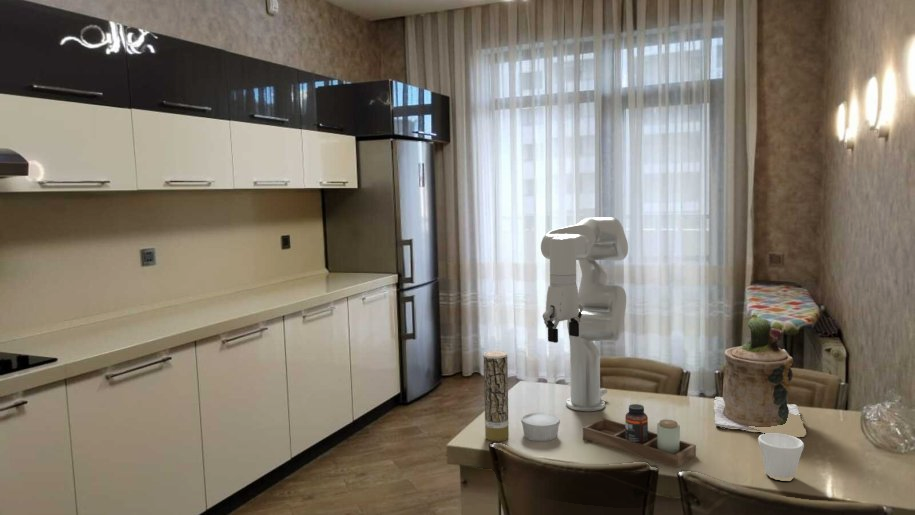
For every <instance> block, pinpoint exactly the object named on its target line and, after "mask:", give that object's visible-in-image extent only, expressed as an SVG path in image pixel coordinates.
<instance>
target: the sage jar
mask: <svg viewBox="0 0 915 515" xmlns="http://www.w3.org/2000/svg"><path fill="white" fill-rule="evenodd" d="M656 424H657V426H656V427H657V428H656V431H657V432H656V434H657V449H658V450H662V451H665V452H668V453H671V454H675V455H676V454H677V453H679V452H680V441H681V440H680V436H681V432H680V430H681V426H680V424H678V421H675V420H672V419H667V418H666V419H660V421H659V422H658V423H656Z"/></svg>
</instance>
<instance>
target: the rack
mask: <svg viewBox="0 0 915 515" xmlns="http://www.w3.org/2000/svg"><path fill="white" fill-rule="evenodd" d="M582 440H584V441H586V442H588V443H589V442H590V443H593V442H594V443H598V444H600V445H603V446H607V447H611V448H613V449H615V450H619V451H622V452H626V453H628V454H632V455H634V456H638V457H641V458H643V459H647V460H650V461H652V462H657V463H659V464H663V465H664V466H665V465H666V466H669V467H671V466H672V468H674V467H675V468H674V469H677V468H679V467H680V465H681V466H683V465H684V464H686V463H687V462H689V461H690V460H692V459H694V458H695V457H696V456H697V455H696V454H697V448H696V447H697V445H696V444H694V443H691V442H687V441H684V440H680V452H679V453H677V454H676V455H675V454H671V453H668V452H665V451H662V450H658V449H657V432H651V431H649V430H648V442H647V443H645V444H643V445H642V444H639V443H636V442H632V441H629V440H626V428H625V424H624V423H622V422H617V421H614V420H611V419H607V418H604V417H603V418H601V419H598V420H596V421H594V422H592V423H590V424H588V425H585V426H583V427H582Z"/></svg>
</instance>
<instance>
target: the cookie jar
mask: <svg viewBox="0 0 915 515" xmlns="http://www.w3.org/2000/svg"><path fill="white" fill-rule="evenodd" d="M747 326H748V328H749V329H750V332H751V340H750V341H748V342H746V343H744V344H742V345H741V346H733V347H730V348H727V349H725V351H724V358H725V360H726V361H725V372H724V376H723V382H722V384H723V386H722V387H723V388H722V397H721V396H715V398H714V399H716V400H714V399H713V400H714V401H713V411H714V419H713V421H714V424H715V427H716V426H717V427H720V428H722V427H725V428H738V429H746V430H756V431H760V430H757V429H754V428H751V427H749V426H755V427H771V426H777V425H783V424H785V423H786V421H787V418H788V415H789V413H791V414H794V415H797V414H798V415H801V413H800V412H799V410H800V409H799V407H798V405H797V404H794V403H793V404H792V403H791V404H789V396H788V395H789V392H790V391H791V383H790V382H792V380H793V376H794V375H793V374H794V373H793V370H792V365H793V364H794V358H793V357H792V356H790V354H789V353H788V351H787V350H786V349H784V348H783V349H781V348H780V347H779V345H778V343H780V342H781V341H782V338H783V331H782V330H781V329H779V328H775V327H771V324H770V322H769V321H768V319H765V318H761V317H759V316H758V315H756V314H754V313H753V314H751V316H750V318H749V320H748V322H747ZM799 413H800V414H799ZM802 420H803V419H802ZM802 420H801V421H802ZM803 422H804V423H805V421H804V420H803ZM725 428H724V429H725Z"/></svg>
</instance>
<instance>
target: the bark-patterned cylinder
mask: <svg viewBox="0 0 915 515" xmlns="http://www.w3.org/2000/svg"><path fill="white" fill-rule="evenodd" d="M508 365H509V364H508V352H506V351H503V350H488V351H485V352H484V353H483V390H484V392H483V393H484V399H483V400H484V434H485V435H484V436H485V438H486V439H487V440H489V441H491V442H496V441H498V442H504V441H506V440H507V439H508V438H509V433H510V432H509V427H510V426H509V424H510V422H509V381H508V379H509V378H508V376H509V375H508V374H509V373H508Z"/></svg>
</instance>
